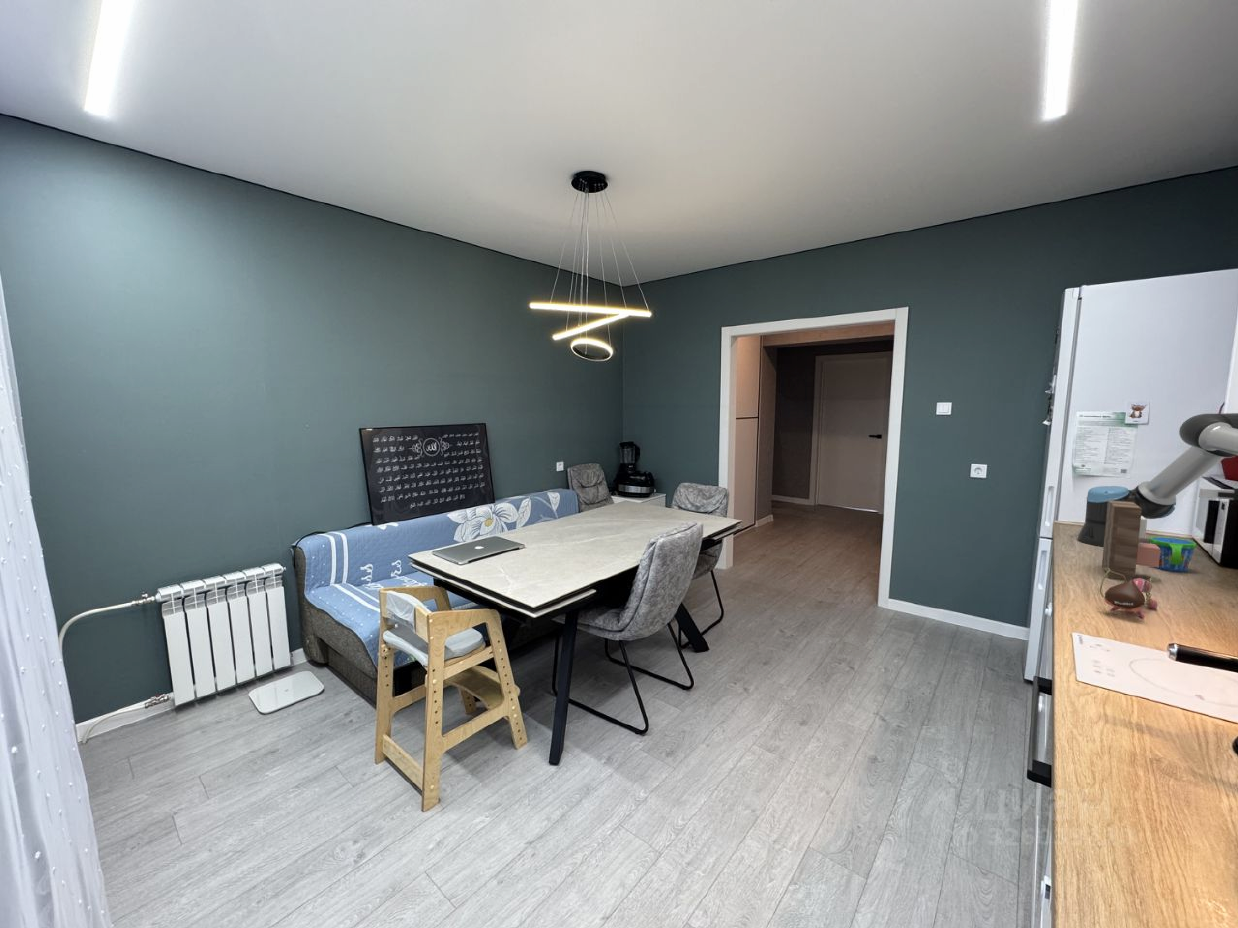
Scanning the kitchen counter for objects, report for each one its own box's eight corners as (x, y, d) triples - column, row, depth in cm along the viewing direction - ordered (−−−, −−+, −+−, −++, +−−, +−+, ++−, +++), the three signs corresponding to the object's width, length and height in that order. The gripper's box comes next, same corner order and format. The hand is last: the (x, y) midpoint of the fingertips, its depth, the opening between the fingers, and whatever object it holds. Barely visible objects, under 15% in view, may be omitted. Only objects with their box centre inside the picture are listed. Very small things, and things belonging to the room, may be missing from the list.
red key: (1131, 559, 163) (1133, 541, 163) (1153, 561, 160) (1155, 544, 160) (1135, 564, 158) (1137, 546, 157) (1158, 567, 155) (1160, 548, 154)
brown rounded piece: (1177, 596, 134) (1168, 559, 127) (1159, 642, 130) (1149, 605, 123) (1120, 584, 144) (1109, 549, 137) (1102, 626, 140) (1090, 591, 133)
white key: (1119, 531, 164) (1120, 514, 164) (1140, 533, 161) (1142, 515, 161) (1123, 535, 159) (1124, 517, 158) (1145, 538, 156) (1147, 519, 155)
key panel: (1101, 567, 171) (1107, 500, 168) (1126, 570, 167) (1132, 501, 164) (1108, 578, 160) (1114, 506, 157) (1134, 582, 156) (1141, 508, 153)
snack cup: (1146, 560, 177) (1149, 533, 176) (1191, 567, 170) (1194, 538, 168) (1147, 570, 166) (1150, 541, 165) (1195, 578, 159) (1198, 547, 158)
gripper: (1338, 518, 131) (1205, 508, 146) (1315, 509, 142) (1192, 501, 156) (1342, 490, 131) (1208, 483, 145) (1319, 484, 141) (1195, 478, 155)
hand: (1200, 492), depth 151 cm, fingers closed
